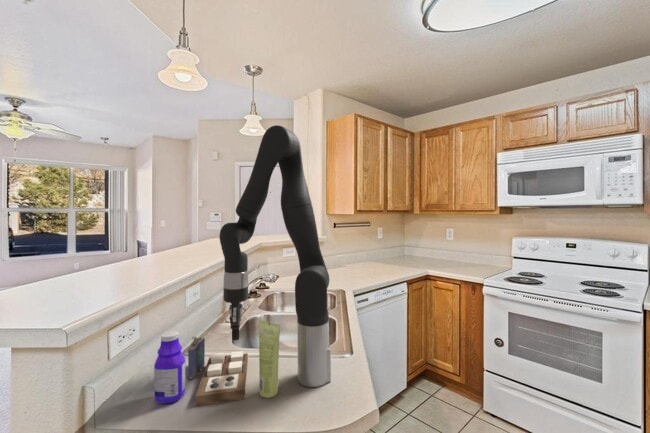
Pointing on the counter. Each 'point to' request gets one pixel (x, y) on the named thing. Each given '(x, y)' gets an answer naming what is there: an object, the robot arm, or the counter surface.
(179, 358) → the bottle
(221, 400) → the panel
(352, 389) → the counter surface
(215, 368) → the button front outer
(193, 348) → the flask
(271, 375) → the tube
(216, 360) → the button back outer
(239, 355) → the button back inner
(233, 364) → the button front inner
